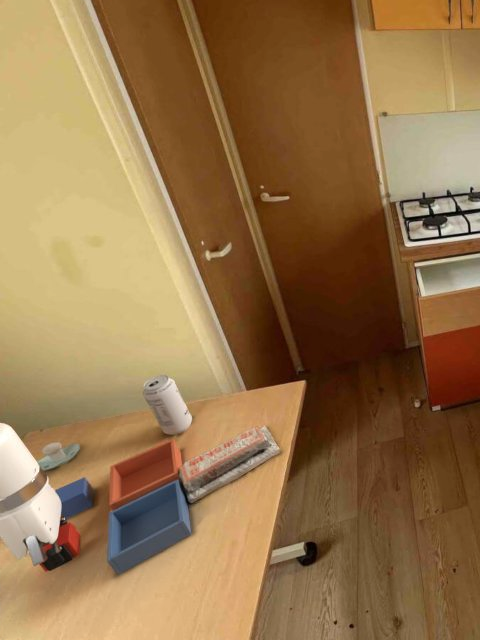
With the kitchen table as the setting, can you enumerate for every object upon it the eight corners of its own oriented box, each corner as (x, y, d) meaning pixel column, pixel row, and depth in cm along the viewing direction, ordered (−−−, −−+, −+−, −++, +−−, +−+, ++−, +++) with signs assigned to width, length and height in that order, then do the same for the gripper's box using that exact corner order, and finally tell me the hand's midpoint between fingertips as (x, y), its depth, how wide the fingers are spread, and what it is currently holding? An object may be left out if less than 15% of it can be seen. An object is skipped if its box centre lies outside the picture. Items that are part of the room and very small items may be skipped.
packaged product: (182, 491, 86) (172, 460, 92) (190, 506, 88) (180, 474, 94) (276, 439, 97) (262, 414, 103) (281, 453, 99) (267, 428, 105)
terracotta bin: (118, 519, 86) (108, 505, 84) (119, 479, 93) (110, 466, 91) (185, 486, 92) (177, 472, 90) (180, 451, 100) (173, 438, 98)
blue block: (63, 519, 85) (52, 506, 83) (66, 503, 89) (55, 489, 86) (93, 506, 88) (83, 492, 86) (94, 490, 91) (84, 476, 89)
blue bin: (118, 574, 77) (107, 561, 75) (118, 526, 84) (108, 512, 82) (191, 534, 83) (183, 520, 81) (185, 492, 91) (178, 478, 89)
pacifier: (38, 463, 97) (40, 478, 93) (24, 444, 94) (25, 459, 91) (81, 442, 102) (84, 456, 98) (68, 424, 99) (71, 437, 96)
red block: (45, 572, 75) (33, 558, 73) (48, 551, 78) (36, 537, 76) (79, 555, 78) (68, 541, 76) (81, 535, 81) (70, 521, 79)
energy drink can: (198, 422, 107) (177, 378, 100) (172, 440, 102) (148, 395, 95) (185, 413, 110) (163, 370, 103) (159, 431, 105) (134, 386, 98)
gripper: (-10, 465, 73) (40, 528, 82) (-35, 546, 62) (27, 610, 70) (50, 443, 78) (92, 504, 86) (38, 514, 66) (87, 578, 74)
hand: (62, 551), depth 78 cm, fingers closed on red block, 4 cm apart
